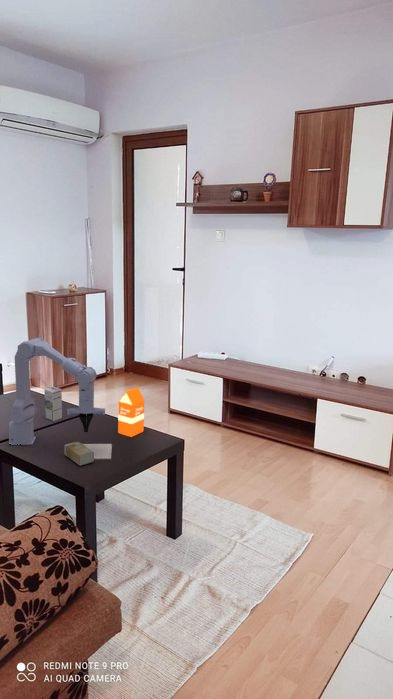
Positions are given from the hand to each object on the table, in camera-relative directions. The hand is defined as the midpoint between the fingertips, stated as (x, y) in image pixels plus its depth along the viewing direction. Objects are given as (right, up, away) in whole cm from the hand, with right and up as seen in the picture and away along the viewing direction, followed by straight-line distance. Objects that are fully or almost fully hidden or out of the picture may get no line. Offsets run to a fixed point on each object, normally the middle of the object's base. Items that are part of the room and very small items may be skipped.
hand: (86, 431), depth 202 cm
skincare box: (-6, -6, -1) cm, 9 cm away
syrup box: (-23, 0, +36) cm, 43 cm away
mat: (+2, -9, +2) cm, 9 cm away
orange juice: (+15, -5, +25) cm, 29 cm away
